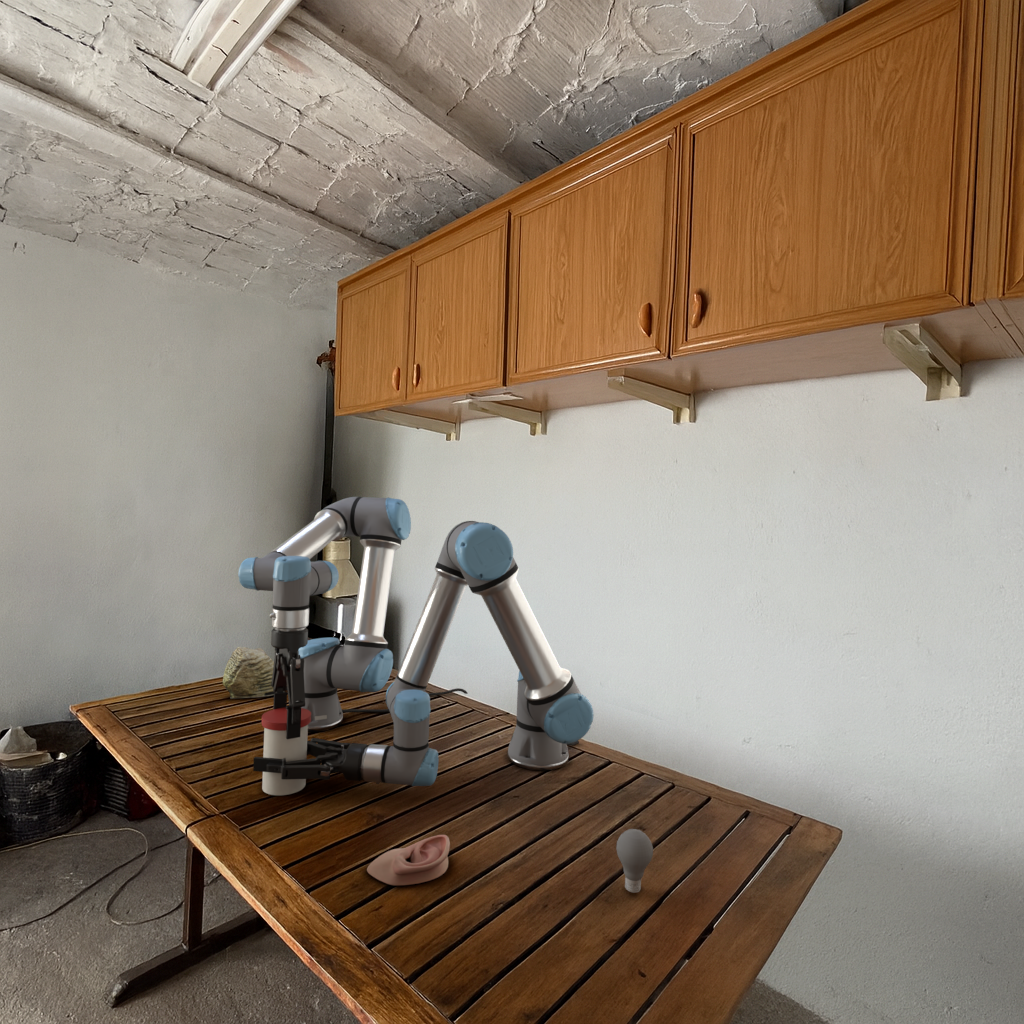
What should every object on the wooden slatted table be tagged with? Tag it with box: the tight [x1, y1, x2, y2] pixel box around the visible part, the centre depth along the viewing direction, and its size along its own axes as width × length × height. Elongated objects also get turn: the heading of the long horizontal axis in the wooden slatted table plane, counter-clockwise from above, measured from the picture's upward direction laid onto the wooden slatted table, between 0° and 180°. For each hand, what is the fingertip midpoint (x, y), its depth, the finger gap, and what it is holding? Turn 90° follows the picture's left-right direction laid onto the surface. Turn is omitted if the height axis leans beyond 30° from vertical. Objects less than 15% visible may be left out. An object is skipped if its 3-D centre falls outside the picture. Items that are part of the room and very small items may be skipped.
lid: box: [261, 708, 311, 731], centre depth 138 cm, size 10×10×2 cm
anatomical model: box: [366, 834, 451, 886], centre depth 109 cm, size 13×4×12 cm
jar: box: [261, 725, 309, 796], centre depth 138 cm, size 9×9×15 cm
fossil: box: [222, 646, 285, 699], centre depth 198 cm, size 9×18×15 cm, turn 132°
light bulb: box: [615, 828, 654, 894], centre depth 106 cm, size 6×6×10 cm
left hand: (286, 729), depth 138 cm, fingers closed on lid, 10 cm apart
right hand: (265, 754), depth 138 cm, fingers closed on jar, 9 cm apart
